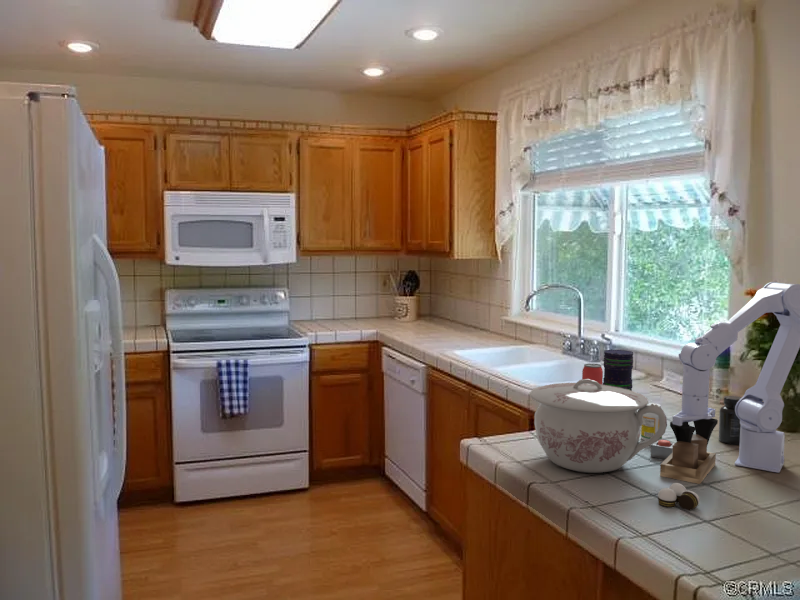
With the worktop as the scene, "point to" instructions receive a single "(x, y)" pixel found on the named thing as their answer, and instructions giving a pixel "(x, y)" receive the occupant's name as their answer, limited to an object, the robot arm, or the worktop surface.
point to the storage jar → (618, 368)
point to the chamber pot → (592, 424)
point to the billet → (700, 446)
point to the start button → (664, 443)
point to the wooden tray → (688, 469)
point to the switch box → (661, 450)
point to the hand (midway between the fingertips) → (692, 450)
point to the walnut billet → (685, 455)
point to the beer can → (593, 372)
